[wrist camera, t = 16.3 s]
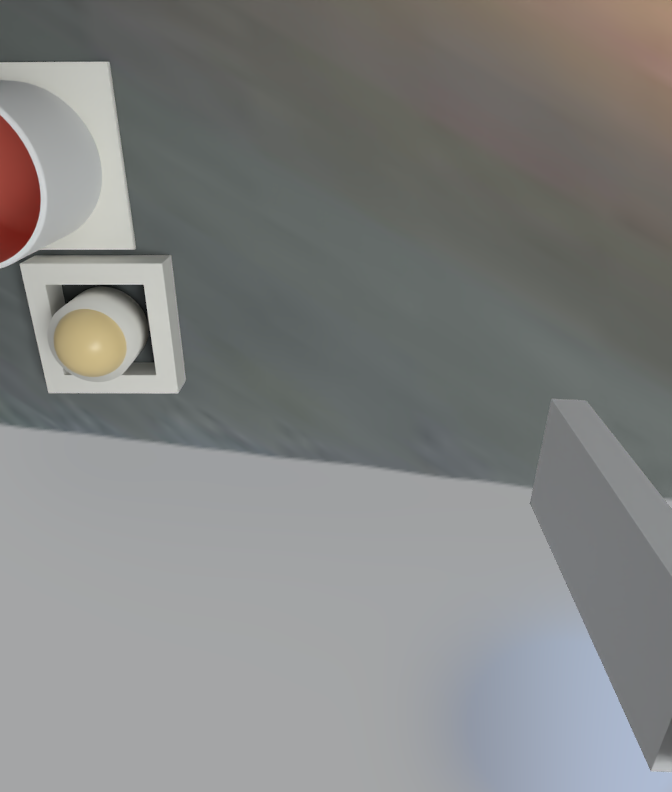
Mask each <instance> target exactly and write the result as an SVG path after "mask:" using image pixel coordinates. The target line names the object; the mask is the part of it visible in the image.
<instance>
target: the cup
mask: <svg viewBox="0 0 672 792" xmlns="http://www.w3.org/2000/svg"><path fill="white" fill-rule="evenodd" d="M101 186H102V166H101V160H100V156H99V152H98V149H97V146H96V144H95V141H94V139H93V137H92V135H91V133H90V131H89V130H88V128H87V126H86V125H85V123H84V122H83V121H82V119H81V118H80V117H79V116H78V115H77V113H76V112H75V111H74V110H73V109H72V108H71V107H70V106H69V105H68V104H66V103H65V102H64V101H63V100H61V99H60V98H59V97H57V96H56V95H54V94H52V93H51V92H49V91H47V90H45V89H43V88H41V87H38V86H36V85H33V84H29V83H25V82H20V81H11V80H0V268H3V267H6V266H8V265H11V264H13V263H15V262H16V261H18V260H20V259H22V258H24V257H26V256H28V255H30V254H32V253H34V252H36V251H38V250H40V249H42V248H43V247H45V246H47V245H49V244H51V243H53V242H55V241H57V240H59V239H61V238H63V237H65V236H67V235H69V234H70V233H72V232H74V231H75V230H77V229H78V228H79V227H80V226H81V225H83V224H84V223H85V222H86V220H87V219H88V218H89V217H90V215H91V214H92V212H93V210H94V209H95V207H96V204H97V202H98V199H99V196H100V192H101Z"/></svg>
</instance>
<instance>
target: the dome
mask: <svg viewBox="0 0 672 792" xmlns="http://www.w3.org/2000/svg"><path fill="white" fill-rule="evenodd" d="M148 333H149V328H148V322H147V319H146V316H145V314H144V312H143V310H142V308H141V307H140V306H139V304H138V303H137V302H136V301H135V300H134V299H133V298H132V297H130V296H129V295H127V294H126V293H124V292H122V291H120V290H118V289H114V288H110V287H94V288H90V289H87V290H85V291H83V292H82V293H80V294H79V295H78V296H76V297H75V298H74V299H72V300H71V301H70V302H68V303H67V304H66V305H64V306H63V307H62V308H60V309H59V310H58V311H57V312H56V313H55V314H54V316H53V317H52V319H51V321H50V323H49V326H48V332H47V338H48V344H49V347H50V350H51V352H52V354H53V356H54V358H55V359H56V361H57V362H58V363H59V364H60V365H61V366H62V367H63V368H64V369H65V370H66V371H67V372H69V373H70V374H72V375H74V376H76V377H78V378H80V379H83V380H86V381H91V382H105V381H110V380H113V379H115V378H117V377H119V376H120V375H122V374H123V373H124V372H125V371H126V370H127V369H128V367H129V366H130V365H131V364H132V362H133V361H134V360H135V358H136V357H137V356H138V355H139V353H140V352H141V351H142V350H143V348H144V347H145V345H146V342H147V339H148Z"/></svg>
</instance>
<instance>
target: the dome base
mask: <svg viewBox="0 0 672 792" xmlns="http://www.w3.org/2000/svg"><path fill="white" fill-rule="evenodd" d="M20 268H21V273H22V277H23V282H24V286H25V291H26V295H27V299H28V304H29V308H30V313H31V317H32V322H33V326H34V331H35V335H36V340H37V344H38V348H39V353H40V357H41V362H42V366H43V371H44V375H45V380H46V384H47V388H48V393H179V391H180V390H181V388H182V386H183V384H184V382H185V381H186V376H185V367H184V359H183V351H182V342H181V334H180V325H179V317H178V309H177V300H176V292H175V283H174V275H173V267H172V258H171V255H35V256H33V257H31V258H29V259H27V260H26V261H24V262H22V263H20ZM62 285H144V291H145V298H146V305H147V312H148V319H149V326H150V333H151V341H152V348H153V355H154V362H132V364H131V365H130V366H129V367H128V369H127V370H126V371H125V372H124V373H123V374H122V375H120V376H119V377H117V378H115V379H113V380H110V381H105V382H91V381H86V380H83V379H80V378H78V377H76V376H74V375H72V374H70V373H69V372H67V371H66V370H65V369H64V368H63V367H62V366H61V365H60V364H59V363H58V362H57V361H56V359H55V358H54V356H53V354H52V352H51V350H50V347H49V344H48V338H47V332H48V326H49V323H50V321H51V319H52V317H53V316H54V314H55V313H56V312H57V311H58V310H59V309H60V308H62V307H63V306H64V305H65V300H64V295H63V290H62Z"/></svg>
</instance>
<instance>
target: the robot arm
mask: <svg viewBox="0 0 672 792" xmlns="http://www.w3.org/2000/svg"><path fill="white" fill-rule="evenodd" d="M530 504H531V506H532V509H533V511H534V513H535V515H536V517H537V520H538V522H539V524H540V526H541V529H542V531H543V533H544V535H545V537H546V539H547V542H548V544H549V546H550V549H551V551H552V553H553V555H554V557H555V559H556V562H557V564H558V566H559V568H560V571H561V573H562V575H563V577H564V579H565V581H566V584H567V586H568V588H569V591H570V593H571V595H572V597H573V599H574V602H575V604H576V606H577V608H578V610H579V613H580V615H581V617H582V619H583V622H584V624H585V626H586V628H587V630H588V633H589V635H590V637H591V639H592V642H593V644H594V646H595V648H596V651H597V653H598V655H599V657H600V659H601V661H602V664H603V666H604V668H605V670H606V673H607V675H608V677H609V679H610V682H611V683H612V686H613V688H614V690H615V693H616V695H617V697H618V699H619V702H620V704H621V706H622V708H623V710H624V712H625V715H626V717H627V719H628V721H629V724H630V726H631V728H632V730H633V732H634V735H635V737H636V739H637V741H638V744H639V746H640V748H641V750H642V752H643V755H644V757H645V759H646V761H647V763H648V766H649V768H650V770H651V771H657V772H658V771H659V772H672V509H671V507H670V506H669V505H668V504H667V502H666V501H665V500H664V498H663V497H662V496H661V495H660V493H659V492H658V491H657V490H656V488H655V487H654V486H653V484H652V483H651V482H650V481H649V479H648V478H647V477H646V476H645V474H644V473H643V472H642V471H641V469H640V468H639V467H638V465H637V464H636V463H635V462H634V460H633V459H632V458H631V457H630V455H629V454H628V453H627V452H626V450H625V449H624V448H623V446H622V445H621V444H620V443H619V441H618V440H617V439H616V438H615V436H614V435H613V434H612V432H611V431H610V430H609V429H608V427H607V426H606V425H605V424H604V422H603V421H602V420H601V419H600V417H599V416H598V415H597V413H596V412H595V411H594V410H593V408H592V407H591V406H590V405H589V403H588V402H587V401H586V400H564V399H551V404H550V408H549V413H548V418H547V423H546V428H545V433H544V438H543V442H542V447H541V452H540V457H539V462H538V467H537V472H536V477H535V481H534V486H533V491H532V496H531V501H530Z"/></svg>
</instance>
